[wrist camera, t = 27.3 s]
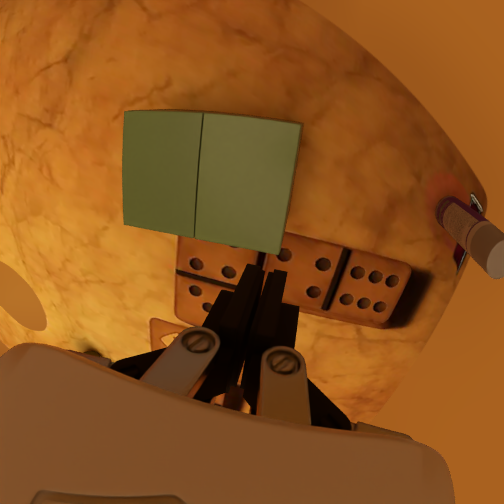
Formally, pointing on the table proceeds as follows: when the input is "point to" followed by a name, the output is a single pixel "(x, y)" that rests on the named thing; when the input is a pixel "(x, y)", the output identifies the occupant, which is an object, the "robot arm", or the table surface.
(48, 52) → the table surface
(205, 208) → the flap
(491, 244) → the container
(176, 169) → the carton
